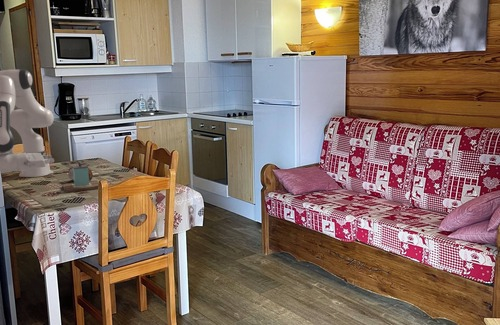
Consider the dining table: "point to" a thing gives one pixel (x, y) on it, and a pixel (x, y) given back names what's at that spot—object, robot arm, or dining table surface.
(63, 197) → the dining table surface
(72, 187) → the pin board
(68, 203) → the dining table surface
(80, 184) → the housing
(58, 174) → the dining table surface
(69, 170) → the tin
